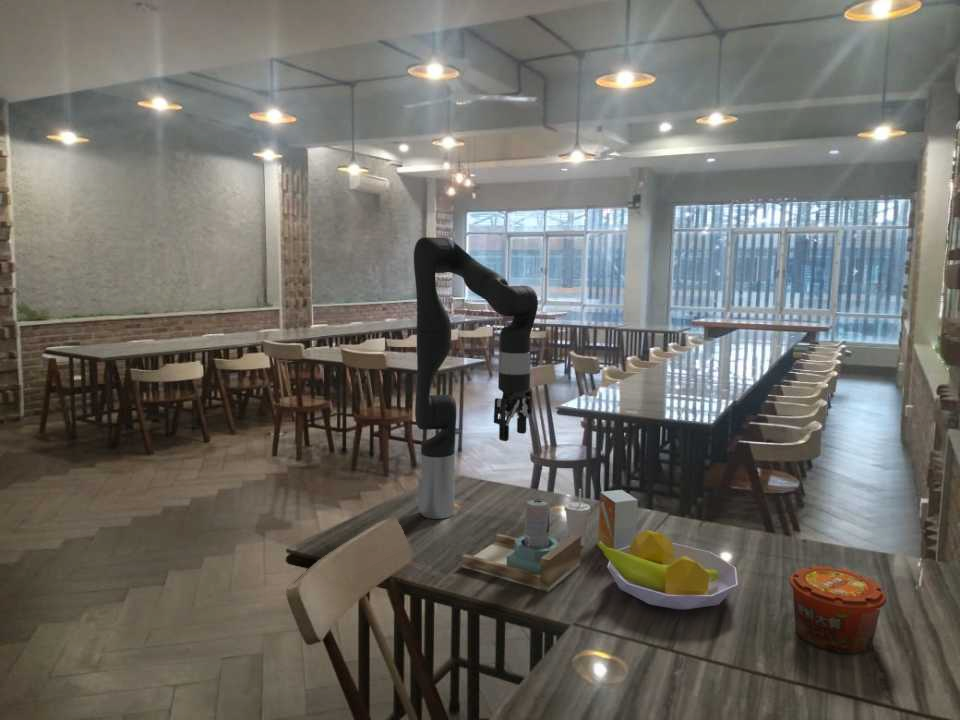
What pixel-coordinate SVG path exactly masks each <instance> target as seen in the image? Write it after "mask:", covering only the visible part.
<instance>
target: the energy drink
mask: <svg viewBox="0 0 960 720" xmlns="http://www.w3.org/2000/svg"><path fill="white" fill-rule="evenodd" d="M549 503H550V502H549V500H547V499H544V498H538V497H535V498H530V499H527V500H526V503H525V513H524V514H525V515H524V519H525V520H524V521H525V523H524V524H525V525H524V526H525V527H524V535H525V547H528V548H532V549H547V548H549V537H550V504H549Z"/></svg>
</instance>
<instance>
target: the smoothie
mask: <svg viewBox="0 0 960 720" xmlns="http://www.w3.org/2000/svg"><path fill="white" fill-rule="evenodd" d="M563 509H564V512H565V517H566V525H567V535H568V536H567V538H568V537H570V536H571V535H572V534H575V535H579V536H581V547H583V546H584V545H585V542H586V541H585V540H586V533H587V527H588V521H589V515H590V513H591V506H590V505H589V504H588V503H585V502H582V488H578V501H572V502H566V504H565V505H564V508H563Z"/></svg>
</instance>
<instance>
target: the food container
mask: <svg viewBox="0 0 960 720" xmlns="http://www.w3.org/2000/svg"><path fill="white" fill-rule="evenodd" d="M788 583H789V585H790V586H791V588H792V597H793V611H794V612H793V613H794V627H795V632H796V634H797V635H798V636H799V637H800V638H801V639H802V640H803V641H805V642H806V643H808V644H809V645H812V646H814V647H817V648H818V649H821V650H825V651H828V652H831V653H832V652H833V653H837V654H844V655H845V654H846V655H852V654H853V655H854V654H861V653H864V652H867V651H868V650H870V649H871V648H872V646H873V642H874V638H875V634H876V629H877V626H878V625H877V624H878V622H879V617H880V612H881V610H882V609H883V608H884V606H885V604H886V602H887V596H886V593H885V591H884V590H883V589H882V588H881V587H880V585H879V584H878V583H877V582H876V581H874V580H873V579H871V578H865V577H863V575H862V574H860V573H858V572H855V571H852V570H848V569H843V568H838V569H834V568H832V567H831V566H825V565H812V566H809V568H804V567H802V568H799V569H797V570H796V571H795V572H793V573H792V574H791V575H790V577H789V581H788Z"/></svg>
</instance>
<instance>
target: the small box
mask: <svg viewBox="0 0 960 720" xmlns="http://www.w3.org/2000/svg"><path fill="white" fill-rule="evenodd" d="M638 503H639V500H638V499H637V498H636V497H634V496H632V495H631V494H629V493H628V492H626V491H624V490H623V489H615V490H606V491H600V492H599V514H598V516H599V518H598V540H597V541H598V542H602V543H603V544H604V545H605V546H606V547H609V548H612V549H615V550H618V549H621V548H624V547H627V546H630V545H631V543H632V541H633V539H634V537H635V536H637V535H638V533H637V530H638V508H639V507H638V505H639V504H638Z"/></svg>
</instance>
